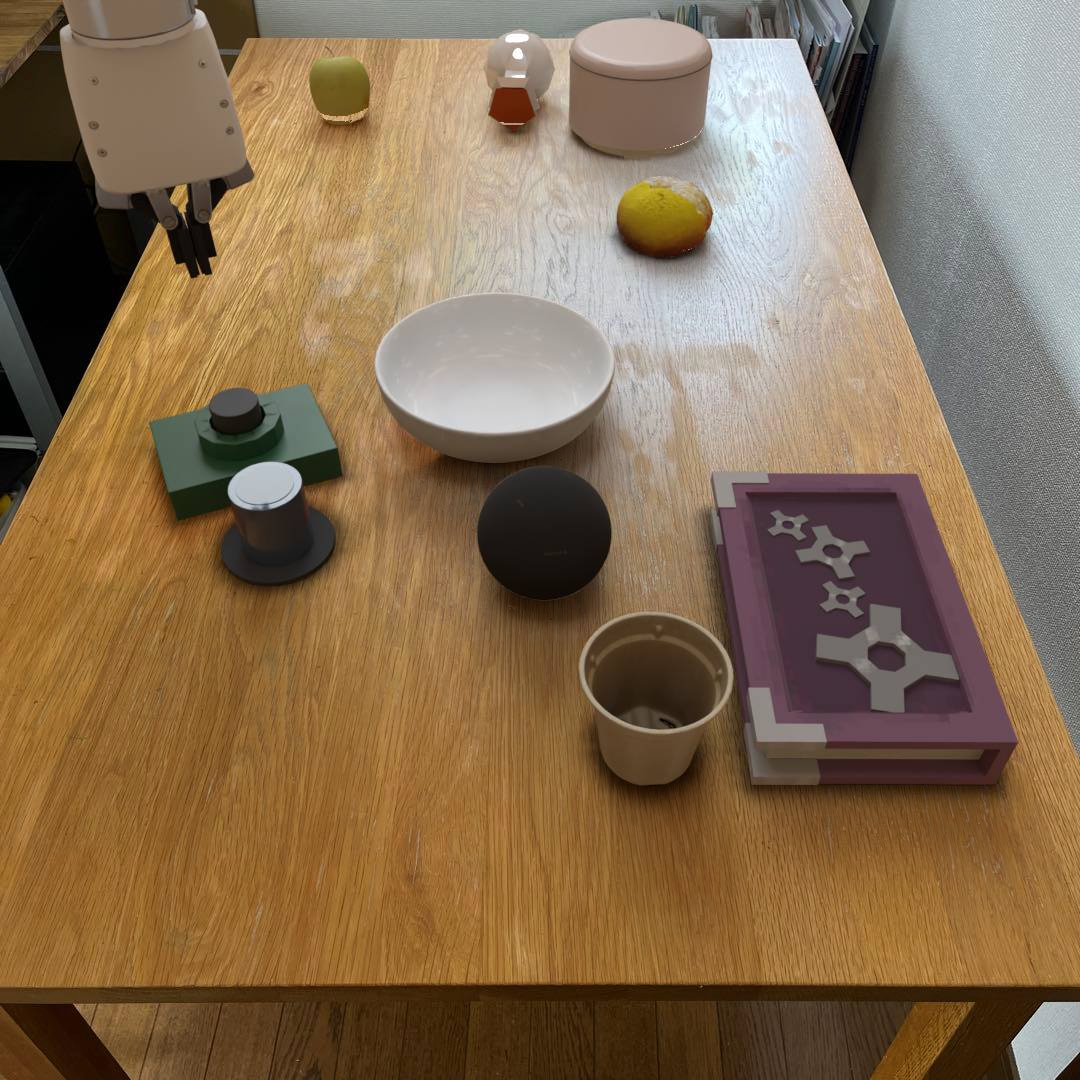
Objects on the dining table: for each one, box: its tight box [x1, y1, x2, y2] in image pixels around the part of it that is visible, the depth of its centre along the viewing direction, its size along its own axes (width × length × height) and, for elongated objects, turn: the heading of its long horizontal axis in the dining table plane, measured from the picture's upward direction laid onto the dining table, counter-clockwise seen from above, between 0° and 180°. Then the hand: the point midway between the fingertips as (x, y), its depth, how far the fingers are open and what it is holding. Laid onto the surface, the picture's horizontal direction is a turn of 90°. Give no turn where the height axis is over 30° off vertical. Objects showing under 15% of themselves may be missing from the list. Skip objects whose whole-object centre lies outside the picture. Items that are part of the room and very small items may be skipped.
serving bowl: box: [373, 292, 616, 464], centre depth 93 cm, size 21×21×7 cm
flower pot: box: [578, 610, 734, 787], centre depth 67 cm, size 9×9×9 cm
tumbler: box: [227, 462, 314, 566], centre depth 81 cm, size 6×6×6 cm
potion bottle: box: [483, 28, 556, 133], centre depth 140 cm, size 9×10×15 cm
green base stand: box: [148, 382, 344, 522], centre depth 89 cm, size 14×10×5 cm
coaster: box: [220, 505, 337, 587], centre depth 83 cm, size 9×9×1 cm
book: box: [709, 470, 1019, 786], centre depth 75 cm, size 25×16×5 cm, turn 0°
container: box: [568, 17, 713, 158], centre depth 134 cm, size 18×18×12 cm
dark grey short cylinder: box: [208, 387, 262, 436], centre depth 87 cm, size 4×4×2 cm
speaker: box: [476, 465, 613, 602], centre depth 77 cm, size 10×10×10 cm
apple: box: [308, 45, 371, 126], centre depth 138 cm, size 8×8×10 cm
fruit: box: [616, 175, 714, 259], centre depth 117 cm, size 11×10×8 cm
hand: (198, 267), depth 77 cm, fingers closed
